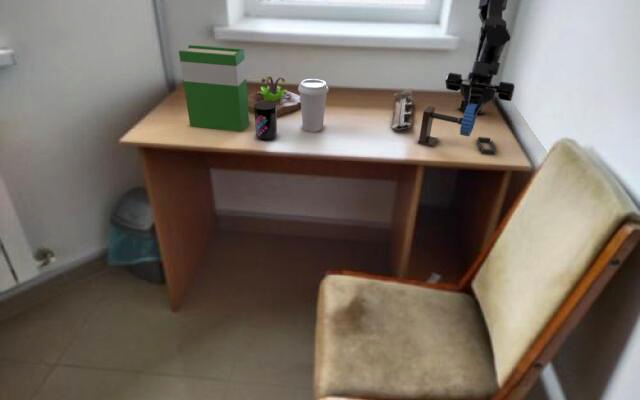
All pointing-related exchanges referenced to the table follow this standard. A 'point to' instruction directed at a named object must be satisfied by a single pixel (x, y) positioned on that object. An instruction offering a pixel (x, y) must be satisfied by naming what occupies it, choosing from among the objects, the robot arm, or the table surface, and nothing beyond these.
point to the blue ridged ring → (468, 120)
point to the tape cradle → (486, 140)
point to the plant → (275, 97)
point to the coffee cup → (313, 103)
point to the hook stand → (427, 124)
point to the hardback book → (215, 87)
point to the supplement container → (265, 120)
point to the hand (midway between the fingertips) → (469, 113)
